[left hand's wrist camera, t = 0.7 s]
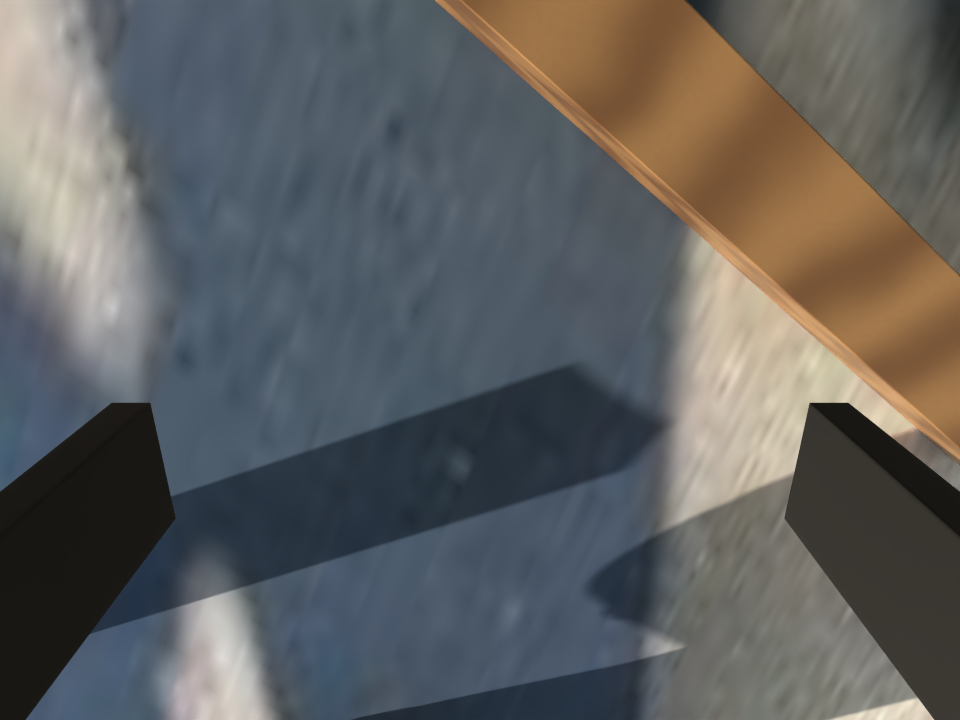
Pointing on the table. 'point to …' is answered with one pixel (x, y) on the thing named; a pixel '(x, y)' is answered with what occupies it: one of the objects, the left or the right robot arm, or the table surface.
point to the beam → (747, 183)
